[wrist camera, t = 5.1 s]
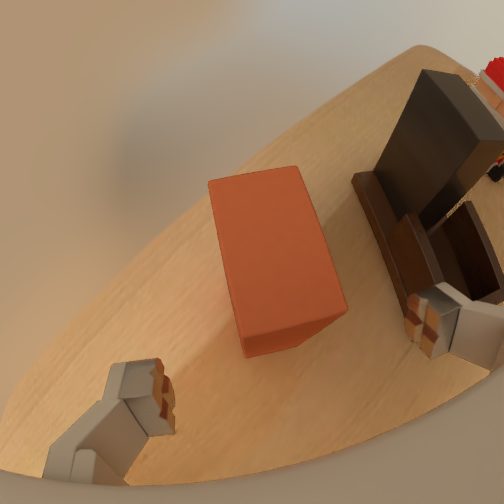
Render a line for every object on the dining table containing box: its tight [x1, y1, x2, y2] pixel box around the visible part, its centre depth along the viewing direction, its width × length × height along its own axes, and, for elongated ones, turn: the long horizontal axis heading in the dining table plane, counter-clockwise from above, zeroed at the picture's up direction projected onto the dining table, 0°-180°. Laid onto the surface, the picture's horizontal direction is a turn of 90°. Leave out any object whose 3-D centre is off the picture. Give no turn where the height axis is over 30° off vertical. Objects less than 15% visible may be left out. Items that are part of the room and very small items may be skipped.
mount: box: [351, 69, 504, 342], centre depth 14 cm, size 6×12×10 cm, turn 13°
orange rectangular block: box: [208, 166, 348, 358], centre depth 13 cm, size 3×5×9 cm, turn 13°
